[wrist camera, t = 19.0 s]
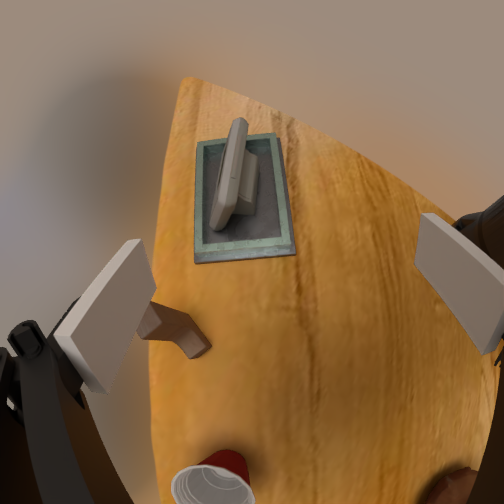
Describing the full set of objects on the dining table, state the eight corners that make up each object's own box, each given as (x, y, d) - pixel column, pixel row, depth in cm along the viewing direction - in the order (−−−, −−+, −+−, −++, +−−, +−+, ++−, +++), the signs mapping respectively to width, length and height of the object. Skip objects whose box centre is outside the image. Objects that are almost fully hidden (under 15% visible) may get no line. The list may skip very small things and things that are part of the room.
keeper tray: (279, 140, 52) (279, 129, 49) (295, 255, 45) (296, 248, 42) (197, 150, 53) (193, 139, 50) (195, 264, 46) (189, 258, 43)
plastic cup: (181, 462, 36) (153, 491, 25) (223, 423, 38) (203, 449, 27) (231, 500, 34) (218, 538, 22) (276, 463, 35) (274, 500, 24)
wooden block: (172, 325, 44) (126, 315, 29) (187, 313, 44) (147, 298, 30) (196, 358, 42) (157, 365, 28) (212, 346, 42) (180, 348, 28)
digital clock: (227, 150, 52) (216, 111, 41) (273, 159, 50) (271, 119, 40) (194, 227, 47) (173, 197, 37) (245, 241, 46) (236, 212, 36)
